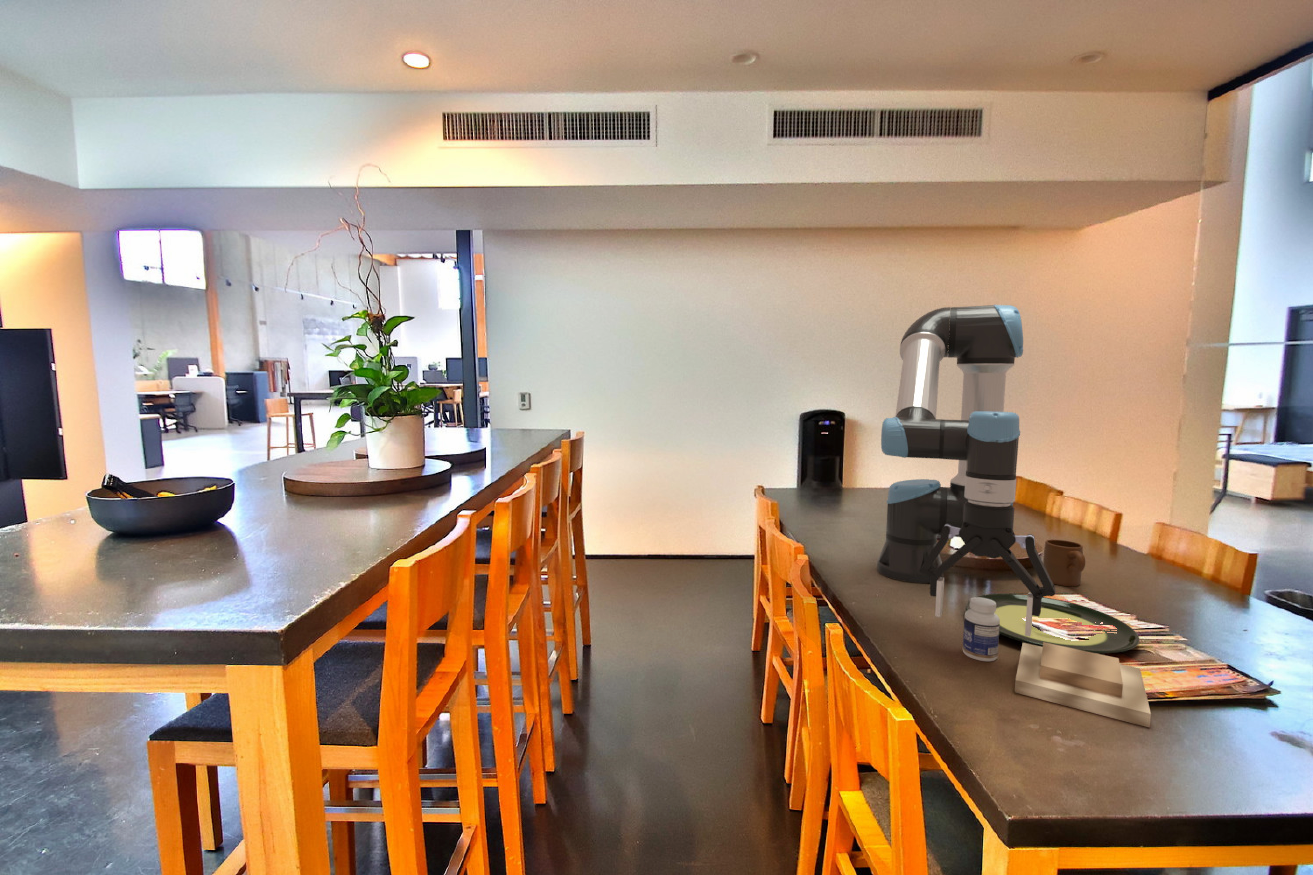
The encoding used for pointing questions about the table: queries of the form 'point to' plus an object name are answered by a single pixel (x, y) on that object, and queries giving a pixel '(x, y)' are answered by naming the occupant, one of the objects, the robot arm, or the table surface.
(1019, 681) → the base
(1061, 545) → the mug
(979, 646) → the pill bottle
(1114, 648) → the plate
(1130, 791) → the table surface
